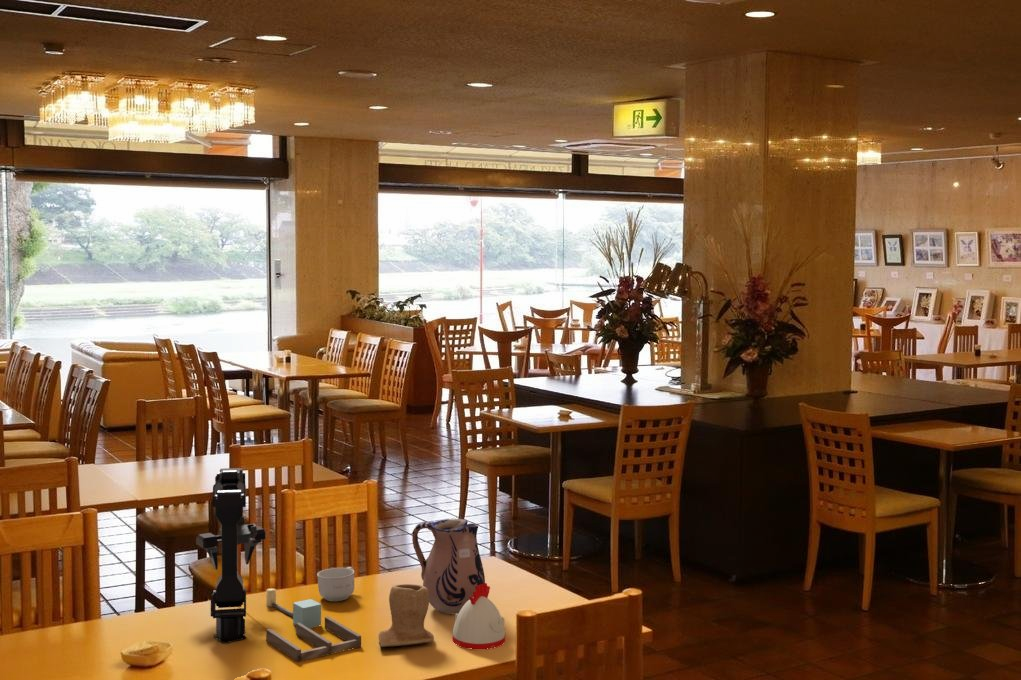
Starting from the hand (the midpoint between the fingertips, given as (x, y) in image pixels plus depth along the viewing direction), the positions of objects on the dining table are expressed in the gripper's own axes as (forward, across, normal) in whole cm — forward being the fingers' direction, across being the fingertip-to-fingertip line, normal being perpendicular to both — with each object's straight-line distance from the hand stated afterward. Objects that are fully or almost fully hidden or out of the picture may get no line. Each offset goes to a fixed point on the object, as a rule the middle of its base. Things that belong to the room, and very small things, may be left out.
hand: (231, 566), depth 314 cm
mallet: (+12, +11, -15) cm, 22 cm away
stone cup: (+12, +26, -50) cm, 58 cm away
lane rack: (+12, +6, -38) cm, 40 cm away
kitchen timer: (+12, +43, -60) cm, 75 cm away
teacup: (+12, +30, -8) cm, 33 cm away
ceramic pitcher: (+12, +50, -35) cm, 62 cm away
